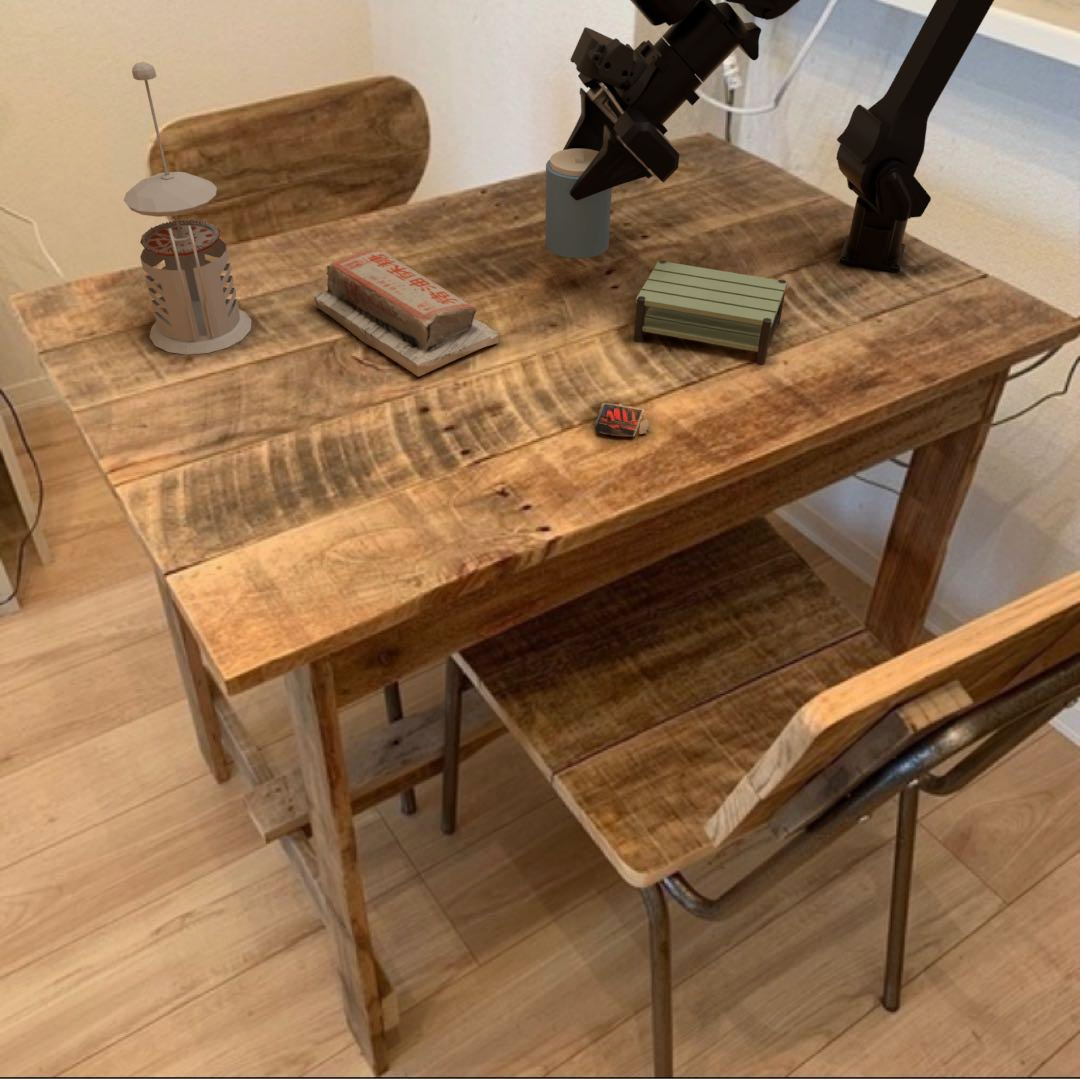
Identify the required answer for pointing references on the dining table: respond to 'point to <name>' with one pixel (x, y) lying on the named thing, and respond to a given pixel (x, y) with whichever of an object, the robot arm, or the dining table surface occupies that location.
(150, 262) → the french press
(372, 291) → the packaged product
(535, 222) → the dining table surface
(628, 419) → the matchbox
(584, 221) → the tissue tub
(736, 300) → the rack
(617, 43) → the robot arm
